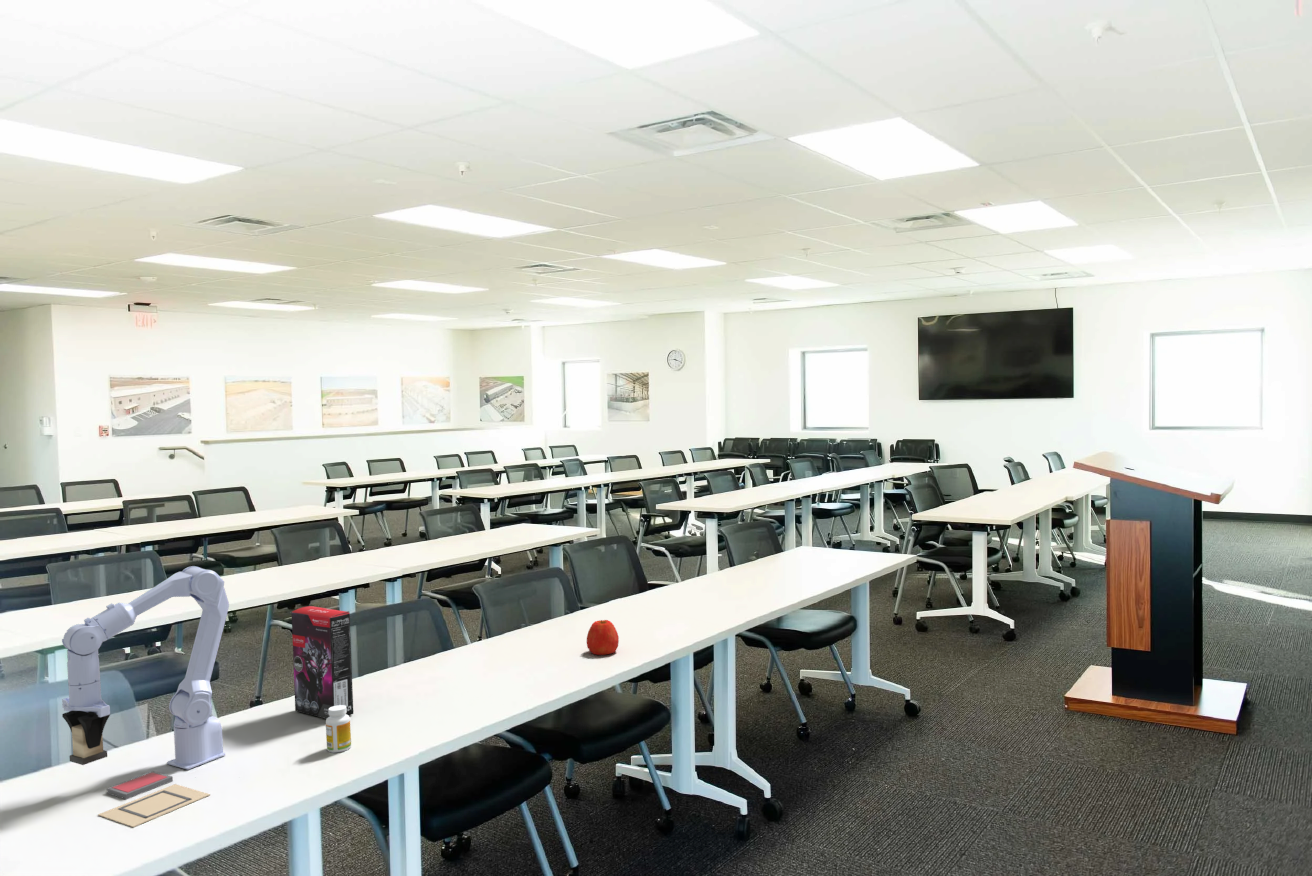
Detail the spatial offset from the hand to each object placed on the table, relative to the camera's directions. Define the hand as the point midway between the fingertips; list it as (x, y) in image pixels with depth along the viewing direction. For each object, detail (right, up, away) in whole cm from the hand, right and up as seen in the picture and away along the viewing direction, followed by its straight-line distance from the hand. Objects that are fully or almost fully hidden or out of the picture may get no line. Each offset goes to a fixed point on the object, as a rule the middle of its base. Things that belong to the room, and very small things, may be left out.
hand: (87, 745), depth 191 cm
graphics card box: (+33, -8, +46) cm, 57 cm away
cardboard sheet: (+19, -10, -8) cm, 22 cm away
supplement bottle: (+46, -8, +20) cm, 51 cm away
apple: (+104, -4, +97) cm, 142 cm away
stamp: (0, -3, 0) cm, 3 cm away
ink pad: (+10, -10, +2) cm, 14 cm away
